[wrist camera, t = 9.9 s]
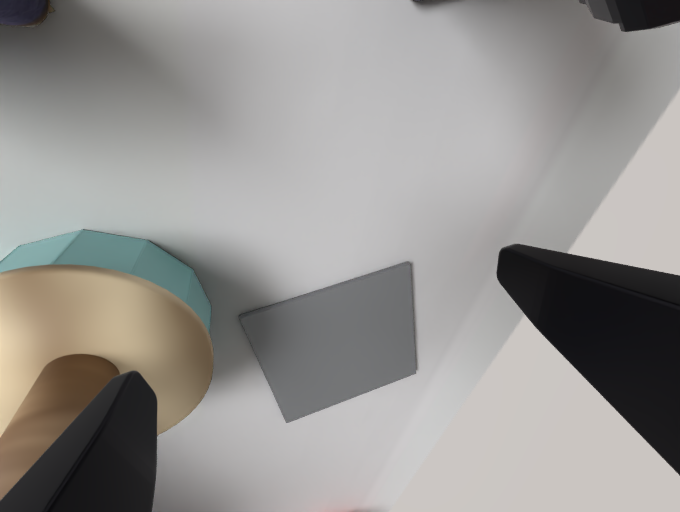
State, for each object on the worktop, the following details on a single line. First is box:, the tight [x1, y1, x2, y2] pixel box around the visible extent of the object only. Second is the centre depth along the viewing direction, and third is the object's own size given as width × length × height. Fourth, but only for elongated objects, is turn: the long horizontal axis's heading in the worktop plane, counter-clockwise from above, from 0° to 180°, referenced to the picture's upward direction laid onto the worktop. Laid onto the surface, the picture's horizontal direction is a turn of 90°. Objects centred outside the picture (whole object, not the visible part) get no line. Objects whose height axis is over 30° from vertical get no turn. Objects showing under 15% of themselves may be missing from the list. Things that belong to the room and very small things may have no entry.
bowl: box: [0, 229, 211, 333], centre depth 18 cm, size 11×11×4 cm
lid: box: [0, 264, 213, 500], centre depth 14 cm, size 12×12×7 cm
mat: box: [239, 262, 416, 423], centre depth 27 cm, size 13×13×1 cm
